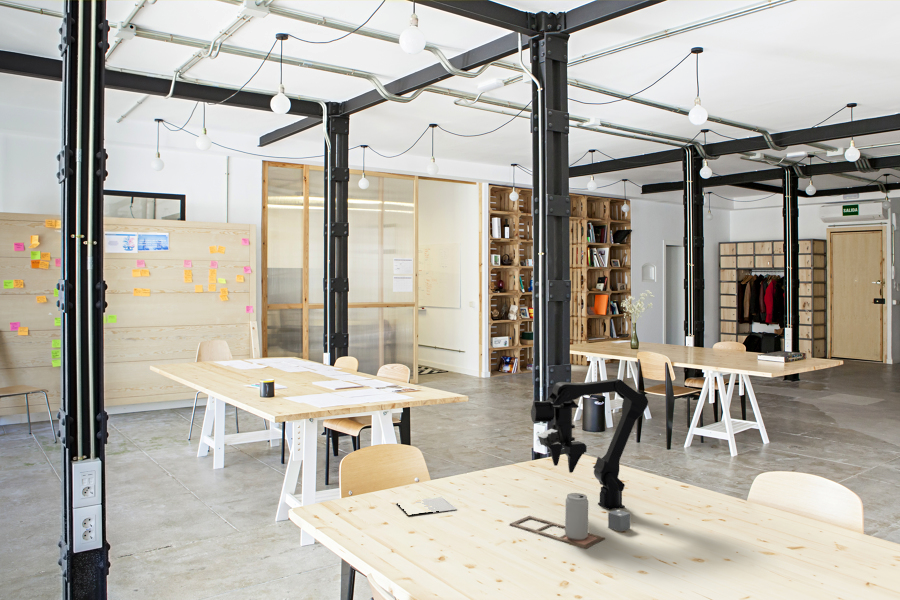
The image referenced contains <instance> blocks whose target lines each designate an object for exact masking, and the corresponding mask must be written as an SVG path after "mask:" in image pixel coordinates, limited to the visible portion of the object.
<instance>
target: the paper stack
mask: <svg viewBox="0 0 900 600" xmlns="http://www.w3.org/2000/svg"><path fill="white" fill-rule="evenodd" d="M422 499H423V500H422V501H423V502H424V503H422V504H424V505H428V506H424V507H428V509H429V510H431V511H432V512H433V513H437V512H436V511H439V512H440V513H441V512H446V511H454V510H455V511H456V510H457V507H455V506H454V505H453V504H452V503H450V502H449V501H448V500H447V499H446V498H444V497H442V496H437V497H430V498H429V497H428V498H422ZM416 503H421V502H416ZM429 506H432V507H429ZM434 508H435V509H434Z"/></svg>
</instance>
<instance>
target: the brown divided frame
mask: <svg viewBox="0 0 900 600" xmlns="http://www.w3.org/2000/svg"><path fill="white" fill-rule="evenodd" d="M528 519H529V520H533V519H534V521H536V520H537V521H536V522H539V521H540V522H541V523H544V524H546V523H547V524H546V525H544V526H543V525H542V527H539V528H537V529H534V528H531V527H526V526H524V525H521V523H524V522H526V521H529V520H528ZM523 521H524V522H523ZM518 523H519V524H518ZM553 525H555V526H554V527H556V526H558V527H557V528H560V527H561V529H563V528H565V525H563V524H560V523H559V524H558V523H557V522H556V523H555V522H554V521H553V522H552V521H550V520H546V519H543V518H539V517H535V516H532V515H528V516H526V517H523V518H520V519H518V520H516V521H512V522H510V523H509V526H511V527H514V526H515V528H517V527H518V529H520V530H524V531H527V532H531V533H534V534H537V535H541V536H543V537H547V538H550V539H553V540H557V541H560V542H561V543H562V542H563V543H565V544H569V545H572V546H575V547H579V548H582V549H589V548H591V547H593V546H594V545H596V544H598V543H600V542H602V541H604V540H606V537H604V536H600V535H597V534H593V533H590V532H588V537H587V538H585V539H584V540H579V541H578V540H572V539H569V538H568V537H567V536H566V534H563V535H561V536H556V535H553V534H550V533H546V532H543V531H544V530H545V529H548V528H550V527H553ZM549 526H550V527H549ZM547 527H548V528H547Z"/></svg>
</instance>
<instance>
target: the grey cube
mask: <svg viewBox="0 0 900 600" xmlns="http://www.w3.org/2000/svg"><path fill="white" fill-rule="evenodd" d="M607 516H608V517H607V518H608V519H607V521H608V523H607V525H608V527H607V528H609V529H612V530H615V531H617V532H620V533H621V532H623V531H624V532H625V531H627V530H630V529H631V512H627V511H624V510H620V509H614V510H611V511H610V512H608V513H607Z"/></svg>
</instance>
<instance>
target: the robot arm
mask: <svg viewBox="0 0 900 600" xmlns="http://www.w3.org/2000/svg"><path fill="white" fill-rule="evenodd" d="M613 392H614V393H616V394H617V395H618V396H619V397H620V398H621V399H622V405H621V416H620V419H619V422H618V423H617V426H616V429H615V431H614V434H613V437H612V439H611V442H610V444H609V446H608V448H607V450H606V453H605V455H604V456H603V457H600V456H598V457H597V458H596V461H595V464H594V465H593V466H592V468H593V475H594V477H595V479H596V480H598V482H599V484H600V485H601V486H600V492H599V502H597V505H599V506H601V507H603V508H604V509H606V510H609V511H613V510H619V509H625V508H626V505H624V504H623V491H624V489H625V486H626V484H625V483H624V482H623V481H622V480H621V479H620V478H619V474H620V460H621V457H622V456H623V452H624V450H625V448H626V446H627V443H628V442H629V441H628V440H629V438H630V435H631V433H632V431H633V428H634V427H635V423H636V421H637V420H638V419H639V418H640V417H641V416H643V414H644V412H645V411H646V409H647V407H648V405H649V400H648V397H647V395H645V394H644V393H642V392H638V391H636V390H635V389H634V388H632V387H630V386H629V385H628V384H627V383H626V382H624V380H622V379H620V378H612V379H604V380H595V381H588V382H580V383H579V382H570V381H569V382H568V381H567V382H566V381H559V382H556V383H555V384H554V385H553V387H552V392H551V393H550V394H549V396H548V397H547V399H546V400H545V401H544V400H543V401H541V400H540V401H539V400H533V401H532V406H531V410H530V418H531V421H532V423H550V422H551V421H552V420H554V423H551V425H550V429H547V430H544V431H542V433H539V434H538V435H537V438H538V441H539V443H540V445H541V446H544V447H546V448H547V449H548V450H549V452H550V453H549V454H550V456H551V460H552V463H553V466H555V467H556V466H558V464H559V461H560V457H561V452H562V448H563V449H564V452H563V454H564V455H565V456H566V457H567V463H568V464H567V465H568V472H569V473H570V474H571V473H574V471H575V469H576V466H577V465H578V462H579V461H580V459H581V457H582V456H583V455H584V454H585V453H588V452H587V449H588V447H587V445H586V443H584V442H582V441H576V438H575V437H574V436H573V429H575V428H576V424H573V409H577V408H580V407H579V405H578V404H577V403H576V402H575V400H578V399H579V398H581V397H586V396H590V395H599V394H607V393H613Z"/></svg>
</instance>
